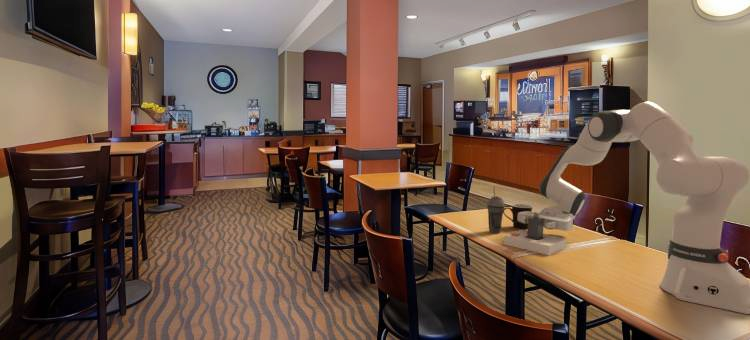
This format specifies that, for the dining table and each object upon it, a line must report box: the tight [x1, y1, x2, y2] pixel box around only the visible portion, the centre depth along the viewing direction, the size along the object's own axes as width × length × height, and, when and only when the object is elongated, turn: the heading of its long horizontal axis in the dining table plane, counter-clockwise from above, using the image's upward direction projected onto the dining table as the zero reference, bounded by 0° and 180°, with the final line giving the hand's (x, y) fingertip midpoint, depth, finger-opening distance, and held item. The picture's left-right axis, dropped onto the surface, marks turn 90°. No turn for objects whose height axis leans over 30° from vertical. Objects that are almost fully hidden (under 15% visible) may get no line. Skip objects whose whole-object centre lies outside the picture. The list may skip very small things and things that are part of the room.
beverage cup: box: [486, 185, 506, 234], centre depth 185 cm, size 7×7×20 cm
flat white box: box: [503, 229, 567, 256], centre depth 166 cm, size 18×14×4 cm
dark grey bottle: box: [527, 211, 544, 240], centre depth 166 cm, size 4×4×13 cm
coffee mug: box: [503, 203, 533, 230], centre depth 195 cm, size 12×9×10 cm
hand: (534, 223), depth 165 cm, fingers open, 8 cm apart
